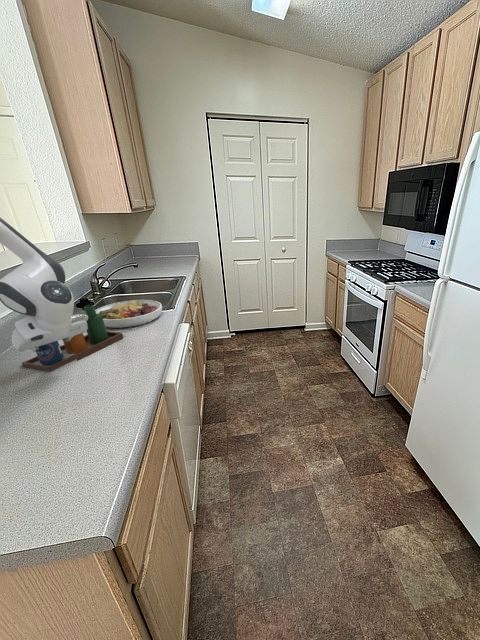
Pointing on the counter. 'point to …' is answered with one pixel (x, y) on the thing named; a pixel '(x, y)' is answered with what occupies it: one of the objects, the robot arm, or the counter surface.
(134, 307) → the bowl
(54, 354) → the soda can
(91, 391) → the counter surface
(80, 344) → the amber bottle
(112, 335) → the tray
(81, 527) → the counter surface
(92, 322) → the green bottle
